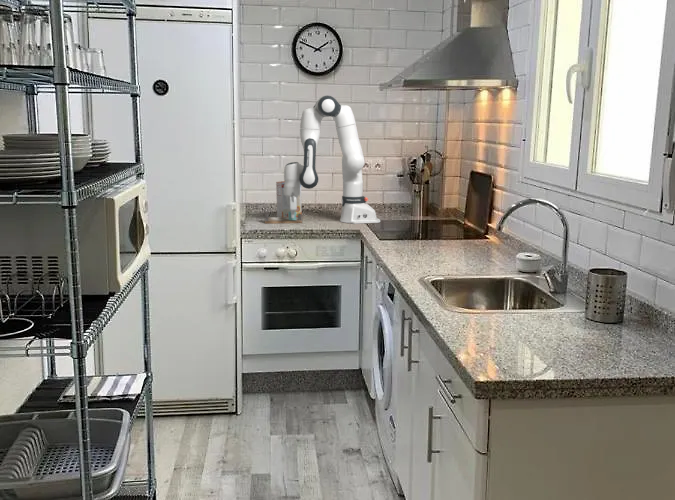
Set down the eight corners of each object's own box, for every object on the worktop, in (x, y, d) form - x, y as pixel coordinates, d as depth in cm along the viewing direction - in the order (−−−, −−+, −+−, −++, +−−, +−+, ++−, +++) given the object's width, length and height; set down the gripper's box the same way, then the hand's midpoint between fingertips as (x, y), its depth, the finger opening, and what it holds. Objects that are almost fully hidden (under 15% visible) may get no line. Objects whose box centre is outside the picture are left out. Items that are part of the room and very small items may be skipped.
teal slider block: (295, 218, 389) (295, 211, 388) (296, 220, 385) (296, 212, 384) (288, 219, 389) (288, 211, 388) (288, 220, 384) (288, 212, 383)
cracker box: (295, 215, 412) (295, 180, 408) (302, 216, 407) (301, 180, 403) (276, 217, 403) (275, 181, 399) (282, 218, 399) (281, 182, 395)
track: (300, 220, 392) (300, 210, 391) (301, 223, 383) (301, 212, 382) (264, 221, 390) (264, 211, 389) (265, 223, 380) (265, 213, 379)
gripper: (299, 193, 374) (299, 219, 377) (296, 190, 394) (296, 214, 396) (287, 194, 373) (287, 219, 376) (285, 190, 393) (285, 214, 396)
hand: (292, 217), depth 386 cm, fingers closed on teal slider block, 5 cm apart
